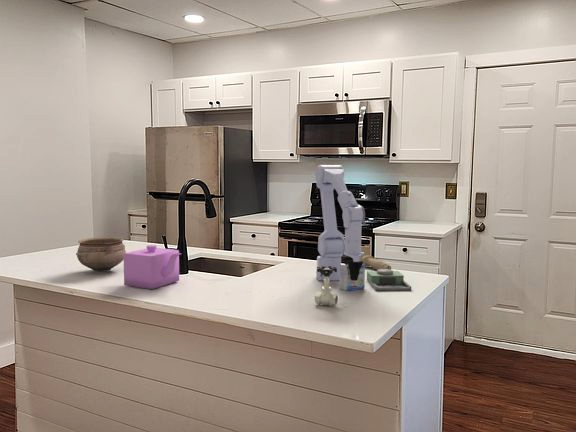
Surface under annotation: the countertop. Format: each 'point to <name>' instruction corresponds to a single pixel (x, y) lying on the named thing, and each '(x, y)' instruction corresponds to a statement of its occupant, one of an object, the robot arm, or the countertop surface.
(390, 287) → the gray rectangular tray
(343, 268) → the medicine box
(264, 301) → the countertop surface
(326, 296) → the valve
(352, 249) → the robot arm
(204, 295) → the countertop surface
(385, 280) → the green block with dome
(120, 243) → the cooking pot
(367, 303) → the countertop surface
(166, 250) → the teapot
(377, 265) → the handle
